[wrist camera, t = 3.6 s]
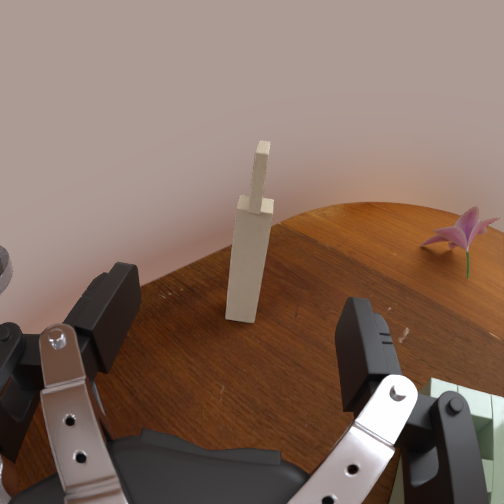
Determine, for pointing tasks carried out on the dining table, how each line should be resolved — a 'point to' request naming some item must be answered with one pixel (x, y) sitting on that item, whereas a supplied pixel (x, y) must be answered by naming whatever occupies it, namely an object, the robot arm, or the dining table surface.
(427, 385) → the caddy
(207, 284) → the dining table surface
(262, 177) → the cream offset-tab post
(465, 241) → the lily
